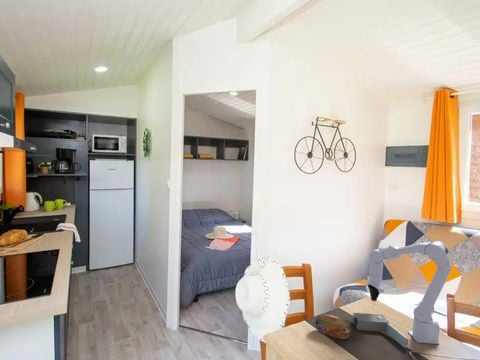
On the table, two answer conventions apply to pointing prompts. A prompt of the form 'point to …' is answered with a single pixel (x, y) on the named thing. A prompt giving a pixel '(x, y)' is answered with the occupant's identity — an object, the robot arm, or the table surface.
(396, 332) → the side door
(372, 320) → the camcorder
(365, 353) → the table surface
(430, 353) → the table surface
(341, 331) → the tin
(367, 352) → the table surface
